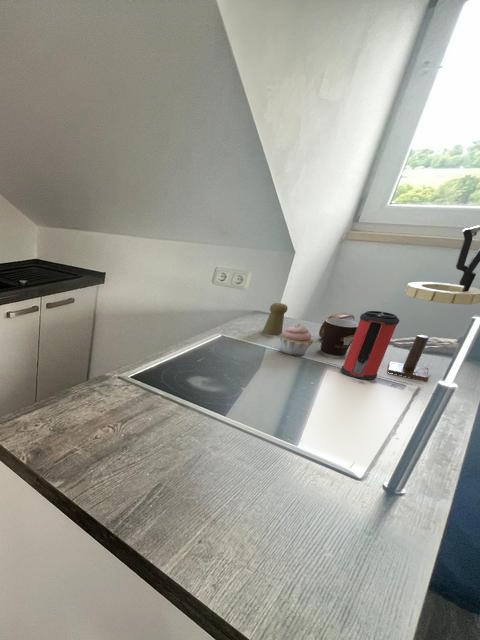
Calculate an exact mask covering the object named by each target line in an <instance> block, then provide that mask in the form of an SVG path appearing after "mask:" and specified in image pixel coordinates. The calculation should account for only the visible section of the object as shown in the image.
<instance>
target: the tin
mask: <svg viewBox="0 0 480 640" xmlns="http://www.w3.org/2000/svg"><path fill="white" fill-rule="evenodd" d="M326 319H344V320H350V321H354V322H355V316H354V314H351V313H347V312H341V313H336V314H331V315H330V316H328V317H327V318H326ZM324 326H325V320H324V321H323V322H322V324H321V326H320V328H319V331H318V336H319V338H322V337H323V332H324Z"/></svg>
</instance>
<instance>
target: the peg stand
mask: <svg viewBox="0 0 480 640" xmlns="http://www.w3.org/2000/svg"><path fill="white" fill-rule="evenodd" d="M429 339H430V336H428V335H424V334H417V335H416V336H415V338H414V341H413V343H412V345H411V348H410V351H409V353H408V355H407V357H406V359H405V362H404V363H402V362H397V361H392V360H390V361H389V363H388V365H389V366H388V365H387V372H389V373H393V374H392V375H394V374H397V375H396V376H398V377H400V376H399V375H402V376H401V377H403V376H406V377H405V378H407V379H412V380H416V381H422V380H423V381H422V382H426V383H427V382H428V380H429V375H430V374H429V368H427V367H423V366H418V363H419V361H420V359H421V357H422V354H423V352H424V350H425V348H426V346H427V343H428V342H429ZM389 373H387V374H388V375H390V374H389ZM394 376H395V375H394ZM408 377H410V378H408ZM403 378H404V377H403ZM413 378H414V379H413Z"/></svg>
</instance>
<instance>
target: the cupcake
mask: <svg viewBox="0 0 480 640" xmlns="http://www.w3.org/2000/svg"><path fill="white" fill-rule="evenodd" d="M278 339H279V341H280V351H281V352H282V353H284V354H286V355H290V356H303V355H305V354H306V352H307V350H308V349H309V347H310V346H312V344H313V343H314V339H312V333H311V332H310V330H309V329H308V328H307V326H306V325H305V324H302V323H301V322H299V323H298V324H297V325H291V326H289V327H288V328H286V329H284V330H282V335H278Z"/></svg>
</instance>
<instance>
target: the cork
mask: <svg viewBox="0 0 480 640" xmlns="http://www.w3.org/2000/svg"><path fill="white" fill-rule="evenodd" d="M288 309H289V307H288V305H287V304H286V303H282V302H274V303H272V304H271V305H270V306H269V311H270V313H269V315H268V318H267V321H266V323H265V325H264V327H263V329H262V333H263V334H265V335H270V336H280V335H282V332H283V328H284V319H285V314H286V313H287V312H288Z"/></svg>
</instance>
